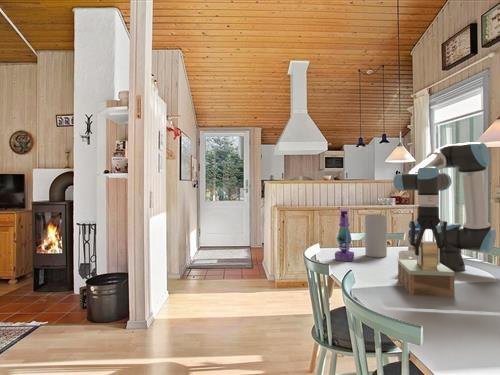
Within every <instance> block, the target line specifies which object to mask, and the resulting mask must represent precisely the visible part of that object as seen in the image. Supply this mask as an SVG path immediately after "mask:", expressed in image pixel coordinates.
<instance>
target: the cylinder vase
mask: <svg viewBox="0 0 500 375" xmlns="http://www.w3.org/2000/svg"><path fill="white" fill-rule="evenodd" d="M364 215H365V217H364V224H365V227H364V228H365V229H364V230H365V231H364V232H365V233H364V235H365V236H364V237H365V245H364V246H365V251H364V252H365V256H366V257H370V258H380V259H381V258H385V257H387V255H388V251H387V250H388V249H387V247H388V243H387V242H388V241H387V240H388V237H387V232H388V231H387V215H386V214H364Z"/></svg>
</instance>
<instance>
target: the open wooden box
mask: <svg viewBox="0 0 500 375" xmlns="http://www.w3.org/2000/svg"><path fill="white" fill-rule="evenodd" d="M397 266H398V267H397V277H398V278H397V281H398V282H399V284H401V286H402V287H403V289H404V290H405V291H406V292H407V293H408V295H409V296H424V297H444V298H445V297H447V298H448V297H449V298H453V297H454V298H455V275H454V276H443V275H411V274H409V273H408V272H407V271H406V270H405V269H404V268H403V267H402V266H401V265H400V264H399V263H398V262H397Z"/></svg>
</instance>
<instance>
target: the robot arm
mask: <svg viewBox="0 0 500 375" xmlns="http://www.w3.org/2000/svg"><path fill="white" fill-rule="evenodd" d="M490 164H491V154H490V150H489V148H488V146H487V144H486V143H484V142H480V141H479V142H477V141H475V142H462V143H455V144H453V143H451V144H450V143H449V144H445V145H444V146H440V147H439V148H436V149H435V150H432V151H431V152H429V153H428V155H427V156H426V158H425V159H424V160H422V161H421V162H419V163H417V164H416V165H415V166H414V167H412V168H410V169H409V170H408V171H406V172H405V173H404V172H402V173H397V174H395V175H394V177H393V187H394V189H395V190H397V191H403V192H404V191H417V205H418V206H417V217H416V219H415V220H410V221H409V223H410V225H411V233H410V245H412V246H414V247H415V255H416V256H418V264H421V248H420V247H419V246H420V243H421V240H422V238H423V237H424V234H425V231H426V230H431V232H432V236H434V240H435V243H437V265H440V263H441V264H443V265H444V266H446V267H447V268H449V269H451V270H452V271H454V272H460V271H465V270H466V264H465V261H464V258H463V256H462V251H463V250H464V251H472V252H478V253H481V252H482V253H485V252H486V253H489V252H491V251H492V250H493V249H494V247H495V243H496V237H497V232H496V229H495V228H492V227H491V223H490V222H489V221H487V211H486V210H487V209H486V198H485V187H484V186H485V185H484V175H483V174H484V173H485V172H486V171H487V167H489V166H490ZM447 168H448V169H449V168H453V169H454V168H456V169H457V171H458V173H459V174H461V175H462V188H463V189H462V190H463V200H464V208H465V209H464V210H465V211H464V212H465V222H464V223H463V224H461V222H460V223H448V222H447V221H445V220H441V219H440V214H439V213H440V208H439V198H440V197H439V192H440V191H441V192H442V191H446V190H448V189H449V188H450V187H451V185H452V177H451V176H450V175H449V174H448V173H446V172H442V171H441V170H443V169H447ZM439 171H441V172H439ZM417 223H418V224H419V225H420V229H419V233H418V236H417V239H416V242H415V229H416V227H415V226H416V225H417ZM422 241H423V240H422Z"/></svg>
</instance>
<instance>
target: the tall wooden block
mask: <svg viewBox="0 0 500 375" xmlns="http://www.w3.org/2000/svg"><path fill="white" fill-rule="evenodd" d="M420 248H421V264H420V268H421V269H422V270H434V271H437V243H436V241H423V240H422V241H421V243H420Z"/></svg>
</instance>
